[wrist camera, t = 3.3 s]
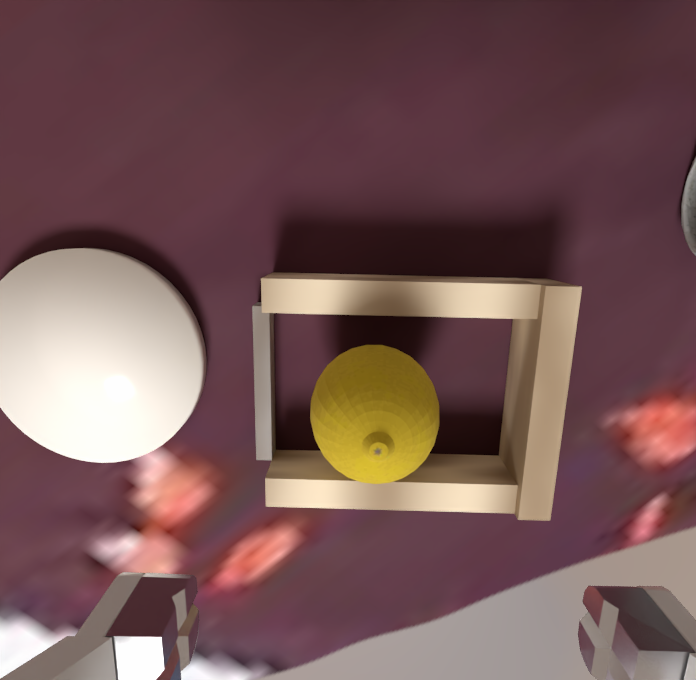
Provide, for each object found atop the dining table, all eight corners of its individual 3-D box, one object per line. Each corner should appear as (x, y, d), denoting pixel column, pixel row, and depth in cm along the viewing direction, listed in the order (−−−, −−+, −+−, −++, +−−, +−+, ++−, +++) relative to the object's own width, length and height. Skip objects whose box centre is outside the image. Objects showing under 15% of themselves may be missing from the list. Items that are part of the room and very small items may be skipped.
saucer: (201, 250, 23) (194, 251, 22) (211, 456, 25) (205, 465, 24) (-22, 245, 23) (-39, 245, 22) (10, 451, 25) (-4, 459, 24)
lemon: (369, 306, 23) (376, 344, 15) (446, 379, 24) (490, 450, 16) (295, 382, 24) (267, 454, 16) (372, 450, 25) (379, 549, 17)
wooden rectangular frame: (547, 278, 23) (582, 286, 19) (523, 481, 25) (550, 520, 22) (256, 271, 23) (239, 278, 19) (261, 474, 25) (247, 512, 22)
